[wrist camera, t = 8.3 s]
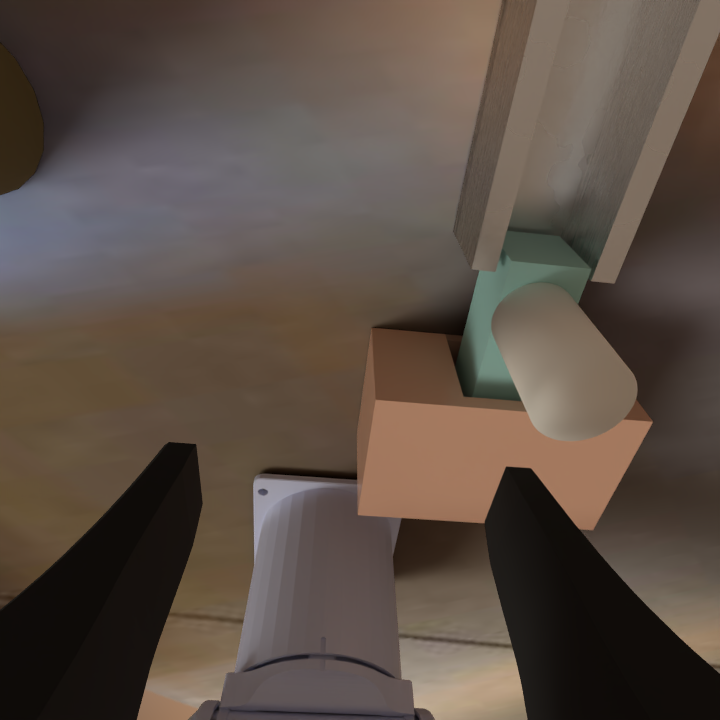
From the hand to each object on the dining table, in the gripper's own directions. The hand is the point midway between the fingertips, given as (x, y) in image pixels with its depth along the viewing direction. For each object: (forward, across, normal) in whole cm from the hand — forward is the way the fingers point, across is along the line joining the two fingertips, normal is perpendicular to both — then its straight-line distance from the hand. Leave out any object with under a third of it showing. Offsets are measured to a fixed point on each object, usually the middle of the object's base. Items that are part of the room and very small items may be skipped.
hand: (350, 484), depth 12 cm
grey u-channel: (+11, -6, -7) cm, 14 cm away
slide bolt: (+10, -6, +1) cm, 12 cm away
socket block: (+10, -6, +5) cm, 13 cm away
